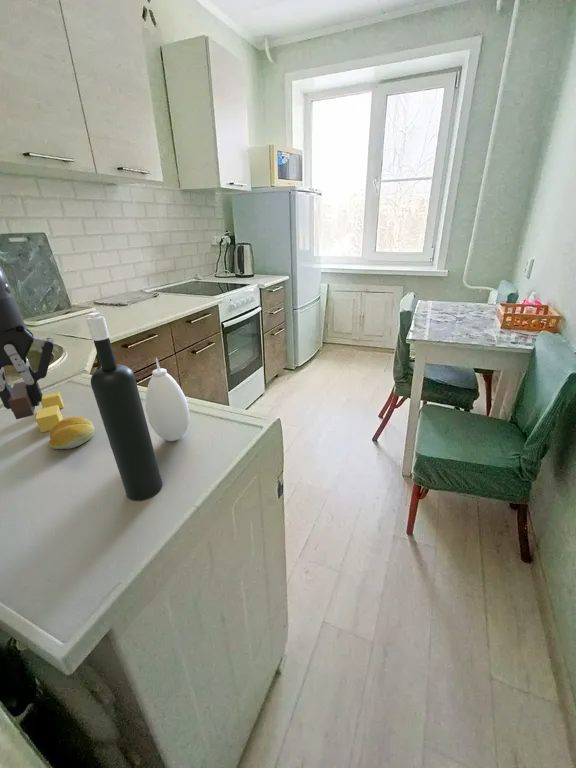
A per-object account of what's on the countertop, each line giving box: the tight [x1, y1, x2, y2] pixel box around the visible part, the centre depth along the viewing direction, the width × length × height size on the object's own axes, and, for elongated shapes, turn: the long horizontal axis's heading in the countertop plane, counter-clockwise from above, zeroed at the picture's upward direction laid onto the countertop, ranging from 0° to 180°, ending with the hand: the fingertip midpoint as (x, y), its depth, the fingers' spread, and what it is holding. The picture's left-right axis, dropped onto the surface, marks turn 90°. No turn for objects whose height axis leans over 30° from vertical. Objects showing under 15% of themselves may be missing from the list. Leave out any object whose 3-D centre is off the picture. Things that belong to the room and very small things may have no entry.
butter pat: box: [40, 391, 65, 409], centre depth 87 cm, size 2×4×4 cm, turn 119°
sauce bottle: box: [145, 357, 191, 442], centre depth 69 cm, size 8×8×18 cm
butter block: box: [35, 405, 64, 433], centre depth 79 cm, size 5×4×4 cm
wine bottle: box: [84, 311, 163, 502], centre depth 53 cm, size 6×6×30 cm
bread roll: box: [49, 416, 96, 450], centre depth 74 cm, size 8×9×4 cm
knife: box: [8, 379, 36, 420], centre depth 59 cm, size 16×2×3 cm, turn 30°
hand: (26, 406), depth 56 cm, fingers closed on knife, 2 cm apart
